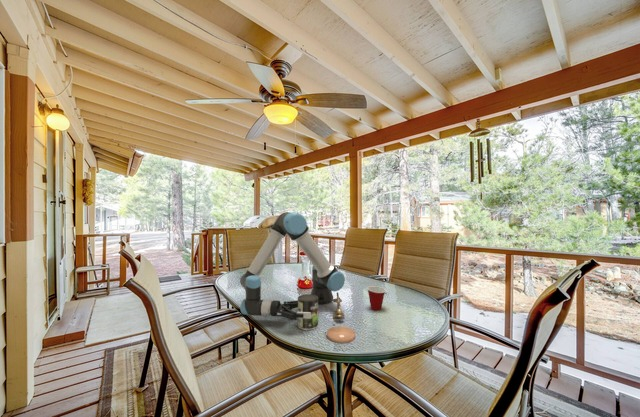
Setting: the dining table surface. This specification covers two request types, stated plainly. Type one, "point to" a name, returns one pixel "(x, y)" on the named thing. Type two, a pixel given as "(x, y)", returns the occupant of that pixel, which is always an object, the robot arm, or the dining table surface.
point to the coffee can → (308, 305)
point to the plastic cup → (376, 297)
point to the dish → (340, 334)
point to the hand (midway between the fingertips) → (312, 309)
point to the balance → (338, 309)
